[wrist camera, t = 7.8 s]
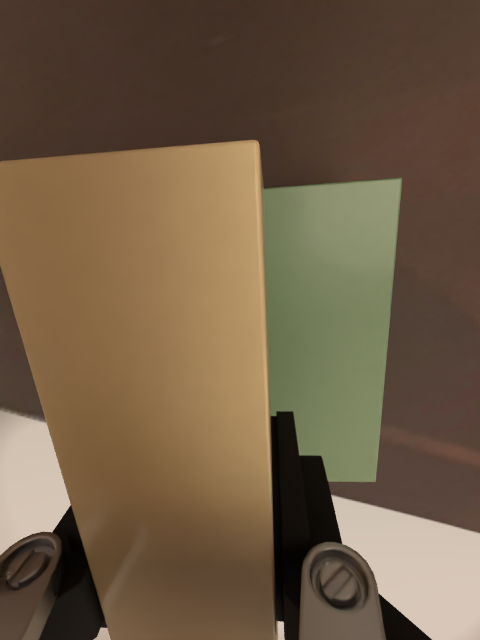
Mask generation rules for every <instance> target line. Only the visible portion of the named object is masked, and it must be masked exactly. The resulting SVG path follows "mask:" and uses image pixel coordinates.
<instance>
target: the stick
mask: <svg viewBox="0 0 480 640" xmlns="http://www.w3.org/2000/svg"><path fill="white" fill-rule="evenodd" d="M0 266H1V270H2V273H3V276H4V280H5V283H6V287H7V290H8V293H9V297H10V300H11V303H12V307H13V310H14V314H15V317H16V320H17V324H18V327H19V331H20V334H21V337H22V341H23V344H24V347H25V351H26V354H27V358H28V361H29V364H30V368H31V371H32V374H33V378H34V381H35V385H36V388H37V391H38V395H39V398H40V402H41V405H42V408H43V412H44V415H45V418H46V422H47V425H48V428H49V432H50V435H51V438H52V442H53V445H54V449H55V452H56V456H57V459H58V462H59V465H60V469H61V473H62V476H63V479H64V483H65V486H66V489H67V493H68V496H69V499H70V503H71V506H72V510H73V513H74V516H75V520H76V523H77V527H78V530H79V533H80V537H81V540H82V544H83V547H84V550H85V554H86V557H87V560H88V564H89V567H90V571H91V574H92V577H93V581H94V584H95V587H96V591H97V594H98V598H99V601H100V604H101V608H102V611H103V614H104V618H105V621H106V625H107V628H108V631H109V635H110V638H111V640H278V621H276V592H275V562H274V533H273V492H272V447H271V405H270V375H269V344H268V313H267V283H266V252H265V222H264V191H263V175H262V165H261V154H260V145H259V143H258V141H256V140H243V141H231V142H219V143H207V144H195V145H184V146H172V147H160V148H148V149H136V150H125V151H113V152H101V153H89V154H77V155H66V156H54V157H42V158H30V159H18V160H7V161H0Z"/></svg>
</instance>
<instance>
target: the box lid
mask: <svg viewBox="0 0 480 640" xmlns="http://www.w3.org/2000/svg"><path fill="white" fill-rule="evenodd" d="M401 187H402V178H389V179H377V180H364V181H351V182H338V183H326V184H313V185H300V186H287V187H275V188H263V191H264V222H265V252H266V283H267V313H268V344H269V375H270V405H271V416H276V411H293V413H294V420H295V427H296V434H297V442H298V449H299V455H315V456H322V459H323V463H324V467H325V471H326V476H327V480H328V481H331V482H375V481H376V470H377V459H378V448H379V436H380V425H381V414H382V402H383V391H384V380H385V368H386V357H387V346H388V334H389V323H390V312H391V300H392V289H393V278H394V266H395V255H396V244H397V232H398V221H399V210H400V198H401Z"/></svg>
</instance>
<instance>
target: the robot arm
mask: <svg viewBox="0 0 480 640" xmlns="http://www.w3.org/2000/svg"><path fill="white" fill-rule="evenodd" d="M271 447H272V492H273V533H274V562H275V592H276V621H283V622H284V637H285V640H432V639H430V638H429V637H428V636H427V635H426V634H425V633H424V632H422V631H421V630H420V629H419V628H418V627H417V626H416V625H414V624H413V623H412V622H411V621H410V620H409V619H407V618H406V617H405V616H404V615H403V614H402V613H401V612H399V611H398V610H397V609H396V608H395V607H393V605H391V604H390V603H389V602H388V601H386V600H385V599H384V598H383V597H382V596H381V595H380V594H378V589H377V583H376V580H375V577H374V574H373V572H372V570H371V568H370V567H369V565H368V563H367V562H366V560H364V559H363V558H362V556H361V555H360V554H358V553H357V552H356V551H354V550H353V549H351V548H350V547H348V546H346V545H343V544H342V541H341V537H340V532H339V528H338V524H337V520H336V515H335V510H334V506H333V502H332V497H331V493H330V489H329V484H328V480H327V476H326V471H325V467H324V463H323V459H322V456H315V455H299V449H298V442H297V434H296V427H295V420H294V413H293V411H276V416H271ZM101 627H103V628H107V625H106V621H105V618H104V614H103V611H102V608H101V604H100V601H99V598H98V594H97V591H96V587H95V584H94V581H93V577H92V574H91V571H90V567H89V564H88V560H87V557H86V554H85V550H84V547H83V544H82V540H81V537H80V533H79V530H78V527H77V523H76V520H75V516H74V513H73V510H72V506H70V507H69V509H68V510H67V511H66V513H65V515H64V516H63V517H62V519H61V520H60V522H59V523H58V525H57V526H56V528H55V529H54V531H53V532H52V533H51V532H40V533H36V534H32V535H30V536H27V537H25V538H23V539H21V540H19V541H18V542H17V543H15V544H13V545H12V546H10V547H9V548H8V549H7V550H6V551H5V552H4V553H3V554H2V555H0V640H93V639H95V638H96V637H97V635H98V633H99V630H100V628H101Z"/></svg>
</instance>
